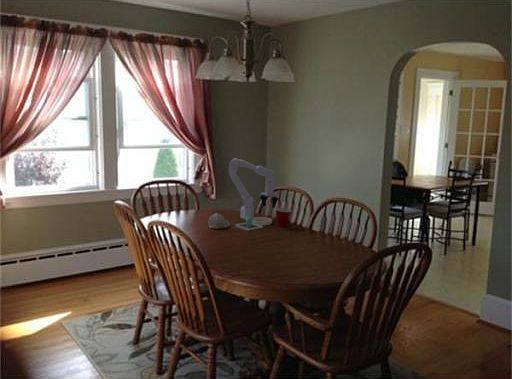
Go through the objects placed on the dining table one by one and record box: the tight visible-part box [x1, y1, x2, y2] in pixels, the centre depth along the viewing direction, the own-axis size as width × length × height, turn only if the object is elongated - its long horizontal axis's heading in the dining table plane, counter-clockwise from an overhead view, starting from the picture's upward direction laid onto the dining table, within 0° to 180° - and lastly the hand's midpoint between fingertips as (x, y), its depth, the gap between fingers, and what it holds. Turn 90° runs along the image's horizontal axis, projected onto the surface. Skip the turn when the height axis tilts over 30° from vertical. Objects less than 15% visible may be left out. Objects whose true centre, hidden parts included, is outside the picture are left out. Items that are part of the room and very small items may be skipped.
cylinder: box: [245, 217, 253, 228], centre depth 302 cm, size 4×4×6 cm
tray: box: [234, 222, 264, 232], centre depth 302 cm, size 14×12×2 cm
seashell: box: [207, 212, 231, 230], centre depth 303 cm, size 12×14×10 cm
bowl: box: [252, 216, 273, 226], centre depth 314 cm, size 15×15×3 cm
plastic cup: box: [274, 207, 292, 228], centre depth 307 cm, size 11×11×12 cm
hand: (269, 206), depth 325 cm, fingers open, 7 cm apart
